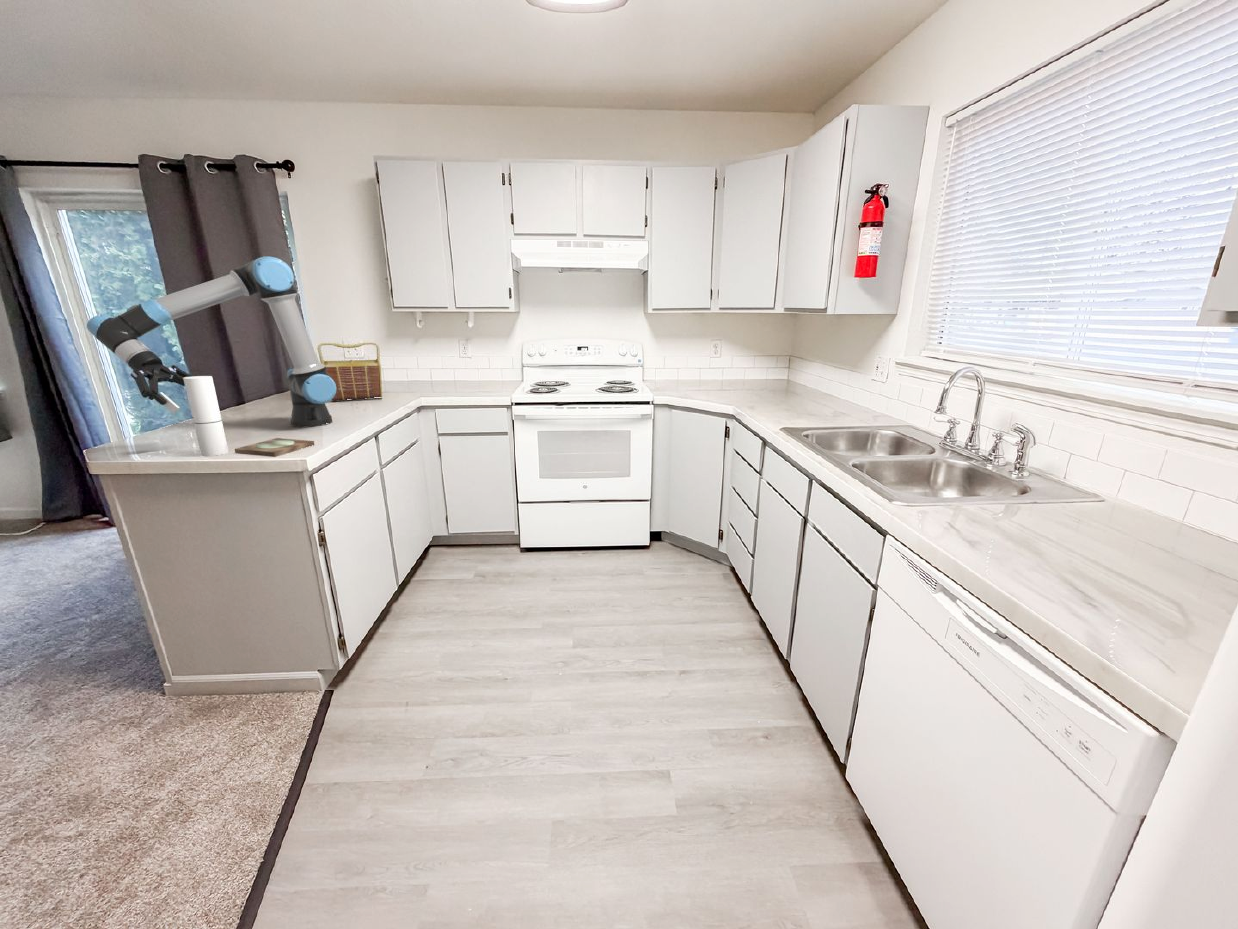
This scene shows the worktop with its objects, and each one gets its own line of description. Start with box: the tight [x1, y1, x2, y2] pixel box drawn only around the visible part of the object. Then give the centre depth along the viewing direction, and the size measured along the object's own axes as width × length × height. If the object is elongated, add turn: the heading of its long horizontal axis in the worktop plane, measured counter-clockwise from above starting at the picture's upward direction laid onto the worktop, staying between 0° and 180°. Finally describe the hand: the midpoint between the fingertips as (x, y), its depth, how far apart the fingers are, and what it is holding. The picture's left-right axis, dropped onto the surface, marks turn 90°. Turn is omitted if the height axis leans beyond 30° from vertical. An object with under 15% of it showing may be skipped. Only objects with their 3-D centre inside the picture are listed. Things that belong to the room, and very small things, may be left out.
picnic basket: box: [317, 342, 383, 402], centre depth 270 cm, size 29×26×30 cm
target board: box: [234, 437, 315, 458], centre depth 171 cm, size 16×16×2 cm
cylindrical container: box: [183, 375, 230, 457], centre depth 161 cm, size 7×7×25 cm
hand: (196, 407), depth 160 cm, fingers open, 13 cm apart
